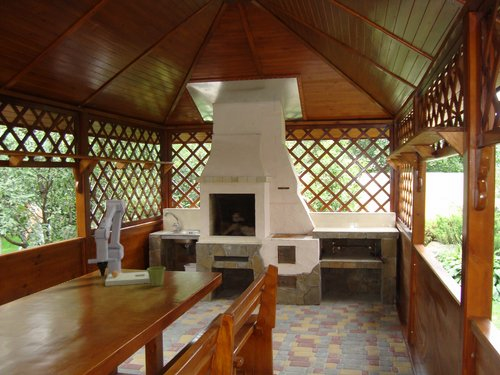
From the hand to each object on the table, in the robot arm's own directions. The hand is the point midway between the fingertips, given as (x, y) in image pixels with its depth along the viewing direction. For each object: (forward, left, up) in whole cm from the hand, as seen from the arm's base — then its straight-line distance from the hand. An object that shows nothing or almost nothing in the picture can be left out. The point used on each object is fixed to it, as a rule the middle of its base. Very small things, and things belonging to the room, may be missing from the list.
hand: (102, 276), depth 223 cm
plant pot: (+14, +28, -4) cm, 32 cm away
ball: (0, +6, +1) cm, 6 cm away
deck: (0, +14, -3) cm, 15 cm away
